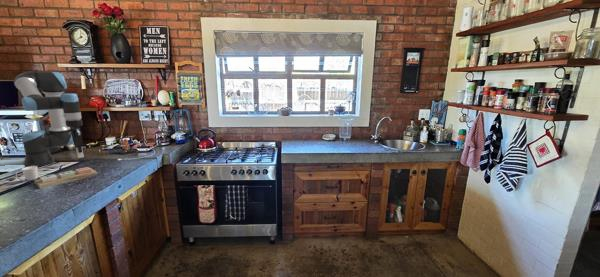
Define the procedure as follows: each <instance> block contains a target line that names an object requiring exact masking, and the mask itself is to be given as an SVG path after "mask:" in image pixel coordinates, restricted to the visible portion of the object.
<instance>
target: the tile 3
mask: <svg viewBox="0 0 600 277" xmlns="http://www.w3.org/2000/svg"><path fill="white" fill-rule="evenodd" d="M90 168H91V167H89V166H86V167H80V168H76V169H75V171H76V173H77V174H79V175H80V174H84V173H88V172H91V169H92V168H91V169H90Z"/></svg>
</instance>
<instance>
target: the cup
mask: <svg viewBox="0 0 600 277" xmlns="http://www.w3.org/2000/svg"><path fill="white" fill-rule="evenodd" d="M38 167H39V166H38ZM38 167H37V166H30V167H25V166H24V167H22V168H20V170H17V171H16V172H15V177H16V179H17V180H20V181H22V182H26V181H34V180H36V179H38V172H39V171H38V169H39V168H38ZM19 172H22V173H23V175H24V178H25V179H23V178H20V177H19V176H18V173H19Z"/></svg>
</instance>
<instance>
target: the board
mask: <svg viewBox="0 0 600 277" xmlns="http://www.w3.org/2000/svg"><path fill="white" fill-rule="evenodd" d="M89 168H90V169H91V172H88V173H84V174H80V175H79V174H77V173H76V170H74V171H73V170H72V171H73V172H74V173H75V176H71V177H66V178H62V179H61V178H60V177H59V174H55V175H56V176H57V180H53V181H49V182H44V183H42V182H41V181H40V178H37V179H34V180H33V182H34V184H35V185H36V186H37V187H38V188H39V189H40V190H41V189H45V188H49V187H53V186H57V185H62V184H65V183H71V182H74V181H79V180H82V179H87V178H90V177H96V176H98V175H99V174H98V171H96V169H93V168H91V167H89Z"/></svg>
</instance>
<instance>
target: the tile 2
mask: <svg viewBox="0 0 600 277" xmlns="http://www.w3.org/2000/svg"><path fill="white" fill-rule="evenodd" d="M57 175H59V177H60V178H61V179H62V178H66V177H71V176H75V173H74V172H73V170H68V171H67V170H66V171H63V172H62V171H61V172H58V174H57Z"/></svg>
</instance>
